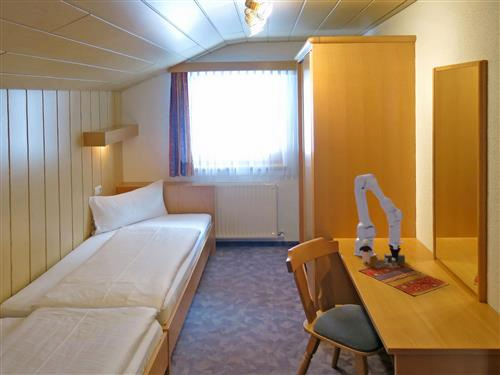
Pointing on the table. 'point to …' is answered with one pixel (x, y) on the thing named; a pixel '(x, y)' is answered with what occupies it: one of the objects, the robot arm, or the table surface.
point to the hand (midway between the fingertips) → (394, 259)
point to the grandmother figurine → (365, 251)
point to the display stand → (386, 264)
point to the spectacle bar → (400, 259)
